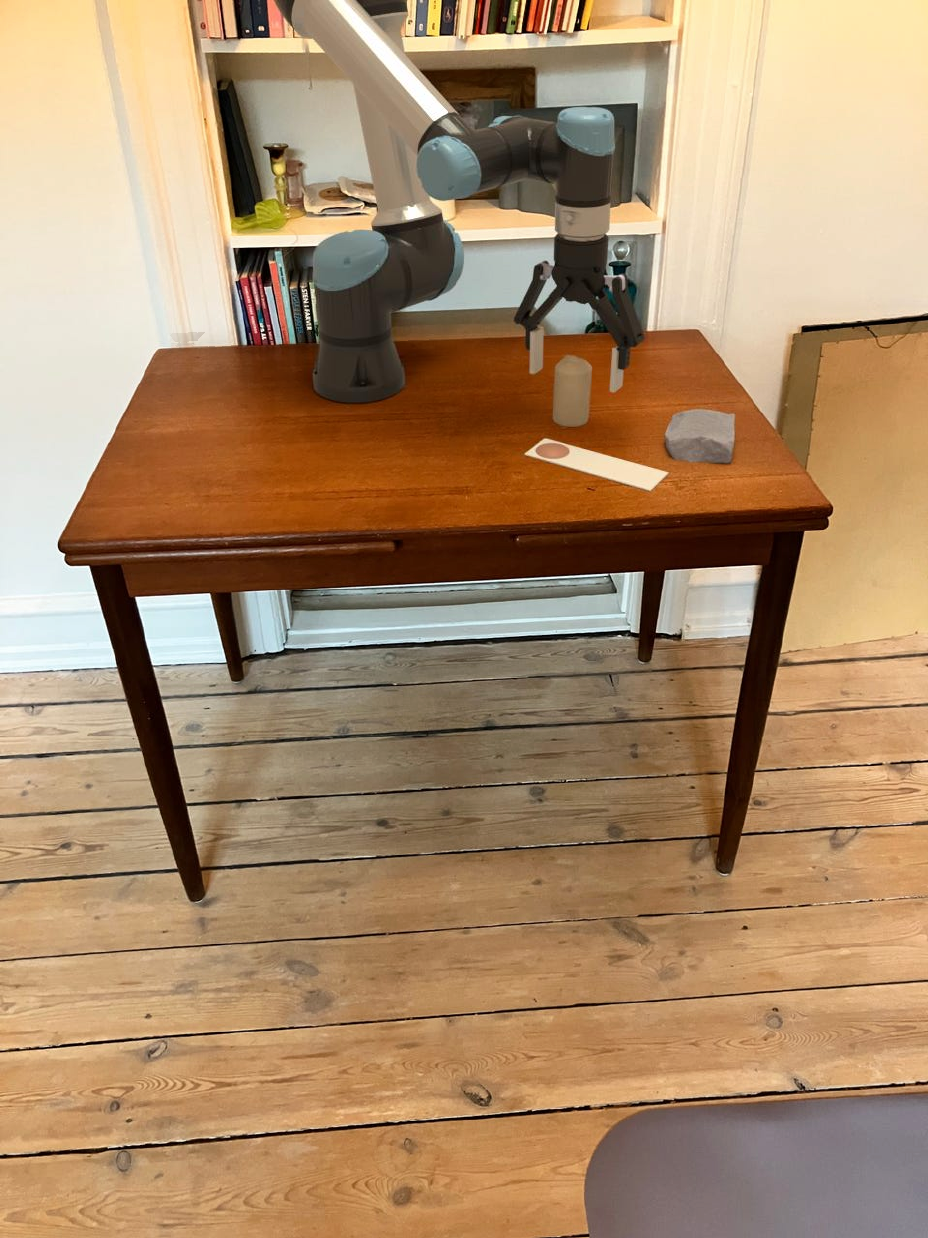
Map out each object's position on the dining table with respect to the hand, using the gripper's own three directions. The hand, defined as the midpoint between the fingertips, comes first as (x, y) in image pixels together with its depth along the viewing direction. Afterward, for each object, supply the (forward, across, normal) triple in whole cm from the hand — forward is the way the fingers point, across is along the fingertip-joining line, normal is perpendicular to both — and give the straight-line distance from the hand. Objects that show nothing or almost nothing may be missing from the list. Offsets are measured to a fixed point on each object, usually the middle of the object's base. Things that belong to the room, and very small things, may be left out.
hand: (575, 379), depth 150 cm
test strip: (+7, +9, -11) cm, 16 cm away
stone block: (+8, +19, +3) cm, 21 cm away
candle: (+7, -1, 0) cm, 7 cm away
